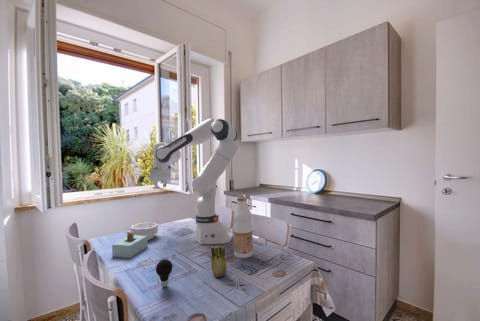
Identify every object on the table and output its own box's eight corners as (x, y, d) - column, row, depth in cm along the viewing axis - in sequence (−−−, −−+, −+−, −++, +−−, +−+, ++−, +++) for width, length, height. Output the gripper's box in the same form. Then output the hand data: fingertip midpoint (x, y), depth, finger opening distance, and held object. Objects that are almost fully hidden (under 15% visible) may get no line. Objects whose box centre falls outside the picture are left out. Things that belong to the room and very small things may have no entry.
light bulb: (158, 282, 86) (158, 257, 86) (174, 281, 87) (173, 256, 87) (154, 291, 81) (153, 264, 81) (170, 290, 81) (170, 263, 81)
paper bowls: (162, 234, 143) (162, 222, 143) (148, 243, 128) (148, 229, 128) (140, 233, 146) (140, 221, 146) (124, 242, 131) (124, 228, 131)
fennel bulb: (210, 275, 91) (209, 246, 91) (218, 271, 95) (218, 242, 95) (220, 280, 87) (219, 249, 87) (228, 275, 91) (228, 245, 91)
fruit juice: (233, 259, 106) (232, 199, 105) (233, 251, 115) (232, 196, 115) (253, 258, 106) (252, 199, 106) (251, 250, 115) (250, 196, 115)
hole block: (147, 246, 123) (147, 235, 123) (130, 257, 109) (129, 245, 109) (131, 245, 125) (131, 235, 125) (112, 256, 111) (112, 244, 111)
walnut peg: (135, 250, 118) (134, 231, 118) (131, 252, 116) (130, 233, 115) (130, 250, 119) (129, 231, 119) (126, 252, 116) (125, 233, 116)
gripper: (155, 167, 138) (156, 190, 138) (172, 166, 158) (172, 186, 158) (146, 167, 139) (147, 190, 139) (164, 166, 159) (164, 186, 159)
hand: (160, 187), depth 148 cm, fingers open, 8 cm apart
